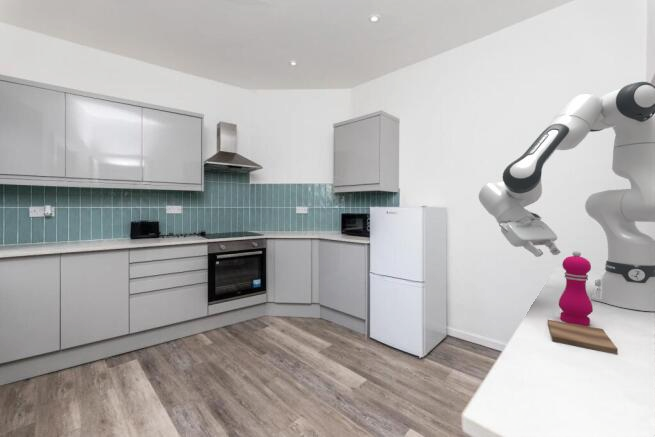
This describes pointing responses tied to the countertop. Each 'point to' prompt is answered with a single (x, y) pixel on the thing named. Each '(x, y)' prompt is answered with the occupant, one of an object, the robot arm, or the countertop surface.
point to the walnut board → (581, 336)
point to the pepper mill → (576, 291)
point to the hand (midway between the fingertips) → (549, 254)
